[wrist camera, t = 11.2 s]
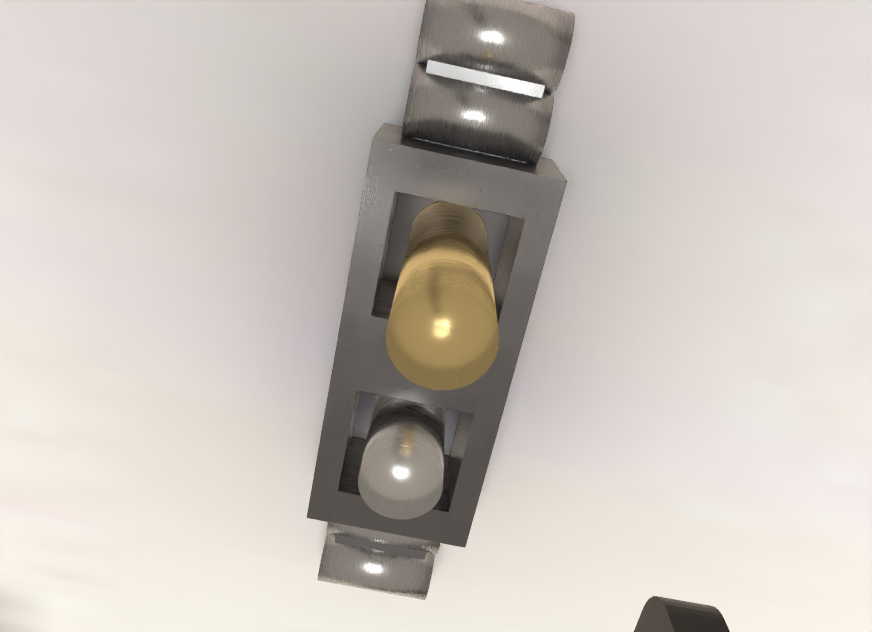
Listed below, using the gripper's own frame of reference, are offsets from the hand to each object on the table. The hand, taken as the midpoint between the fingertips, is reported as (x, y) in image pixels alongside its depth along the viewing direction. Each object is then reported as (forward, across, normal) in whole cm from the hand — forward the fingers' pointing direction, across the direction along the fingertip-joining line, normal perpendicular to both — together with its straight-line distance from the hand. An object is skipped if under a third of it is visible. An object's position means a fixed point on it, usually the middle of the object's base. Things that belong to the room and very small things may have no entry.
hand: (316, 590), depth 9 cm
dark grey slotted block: (+21, -2, +5) cm, 21 cm away
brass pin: (+21, -2, +1) cm, 21 cm away
